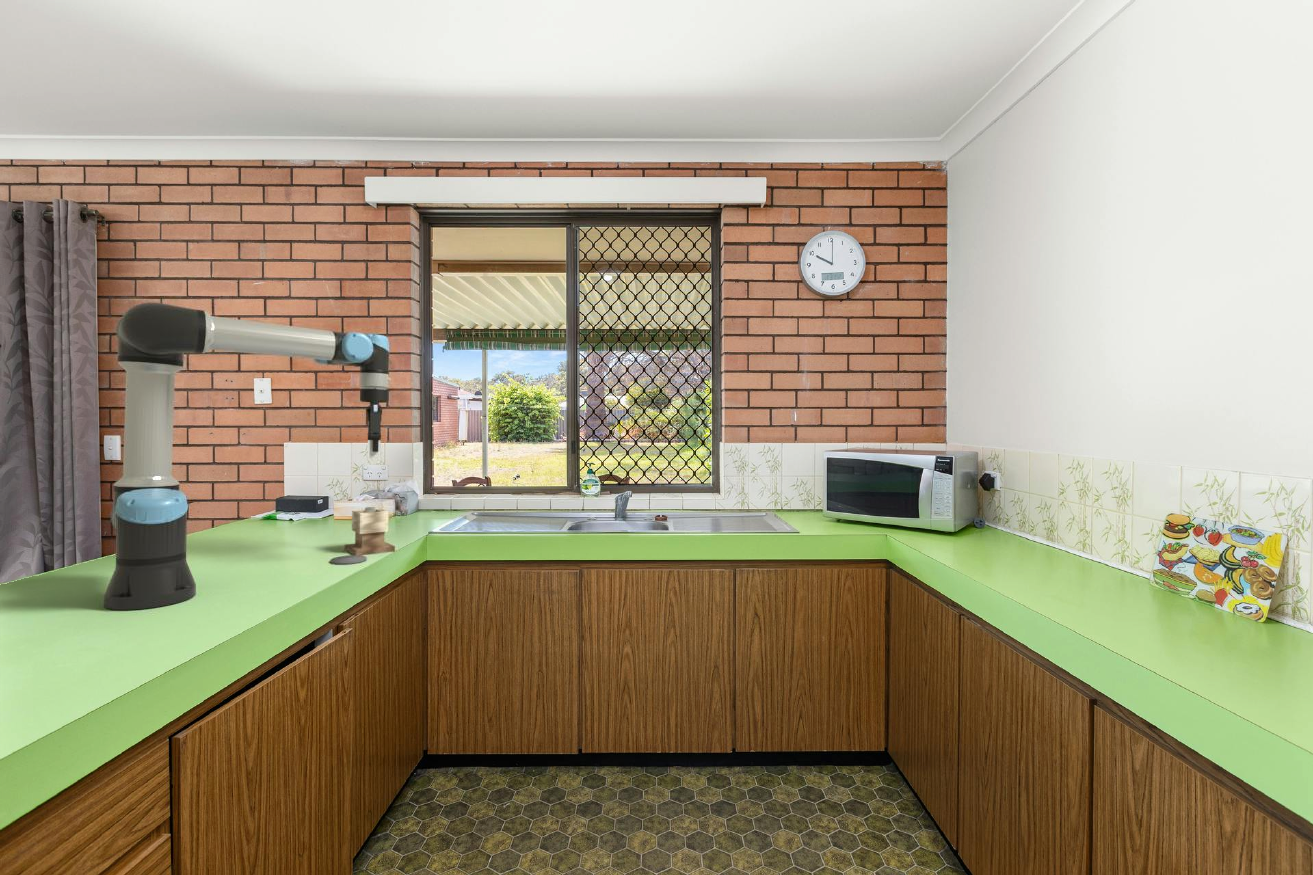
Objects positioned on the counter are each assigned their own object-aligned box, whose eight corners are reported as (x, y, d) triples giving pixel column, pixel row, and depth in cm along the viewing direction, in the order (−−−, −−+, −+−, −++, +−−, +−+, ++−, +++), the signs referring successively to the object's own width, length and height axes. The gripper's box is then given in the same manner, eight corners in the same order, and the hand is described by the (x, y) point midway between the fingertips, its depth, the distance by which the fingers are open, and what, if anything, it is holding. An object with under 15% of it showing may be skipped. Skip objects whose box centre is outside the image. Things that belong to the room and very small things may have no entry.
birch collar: (360, 534, 176) (360, 513, 176) (351, 530, 182) (352, 510, 182) (388, 531, 181) (388, 511, 181) (379, 527, 187) (379, 508, 187)
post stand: (355, 555, 174) (356, 511, 174) (344, 549, 182) (345, 507, 182) (394, 551, 181) (395, 508, 181) (382, 545, 189) (382, 504, 189)
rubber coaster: (335, 566, 161) (335, 563, 161) (326, 560, 168) (326, 557, 168) (371, 561, 167) (371, 559, 167) (360, 555, 174) (360, 553, 174)
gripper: (391, 387, 163) (391, 464, 164) (385, 390, 185) (385, 459, 186) (361, 386, 160) (360, 465, 160) (358, 389, 182) (358, 459, 182)
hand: (373, 462), depth 173 cm, fingers open, 13 cm apart
